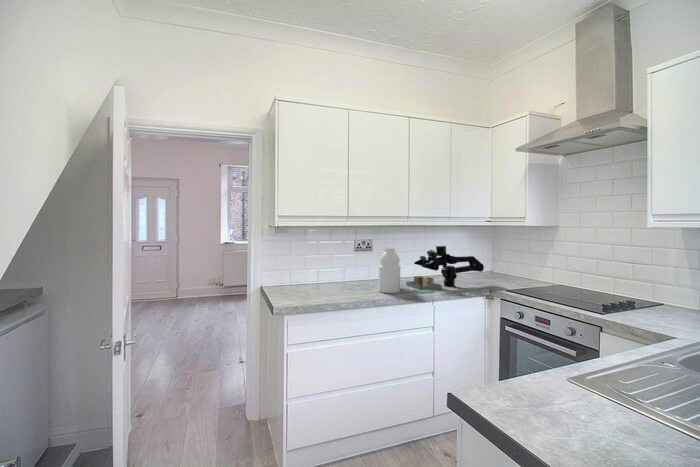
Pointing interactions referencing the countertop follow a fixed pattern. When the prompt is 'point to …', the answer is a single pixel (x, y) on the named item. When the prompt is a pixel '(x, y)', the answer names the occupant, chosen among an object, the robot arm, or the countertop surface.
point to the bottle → (389, 272)
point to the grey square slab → (434, 286)
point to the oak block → (428, 281)
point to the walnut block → (418, 280)
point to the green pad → (423, 291)
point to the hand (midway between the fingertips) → (418, 264)
